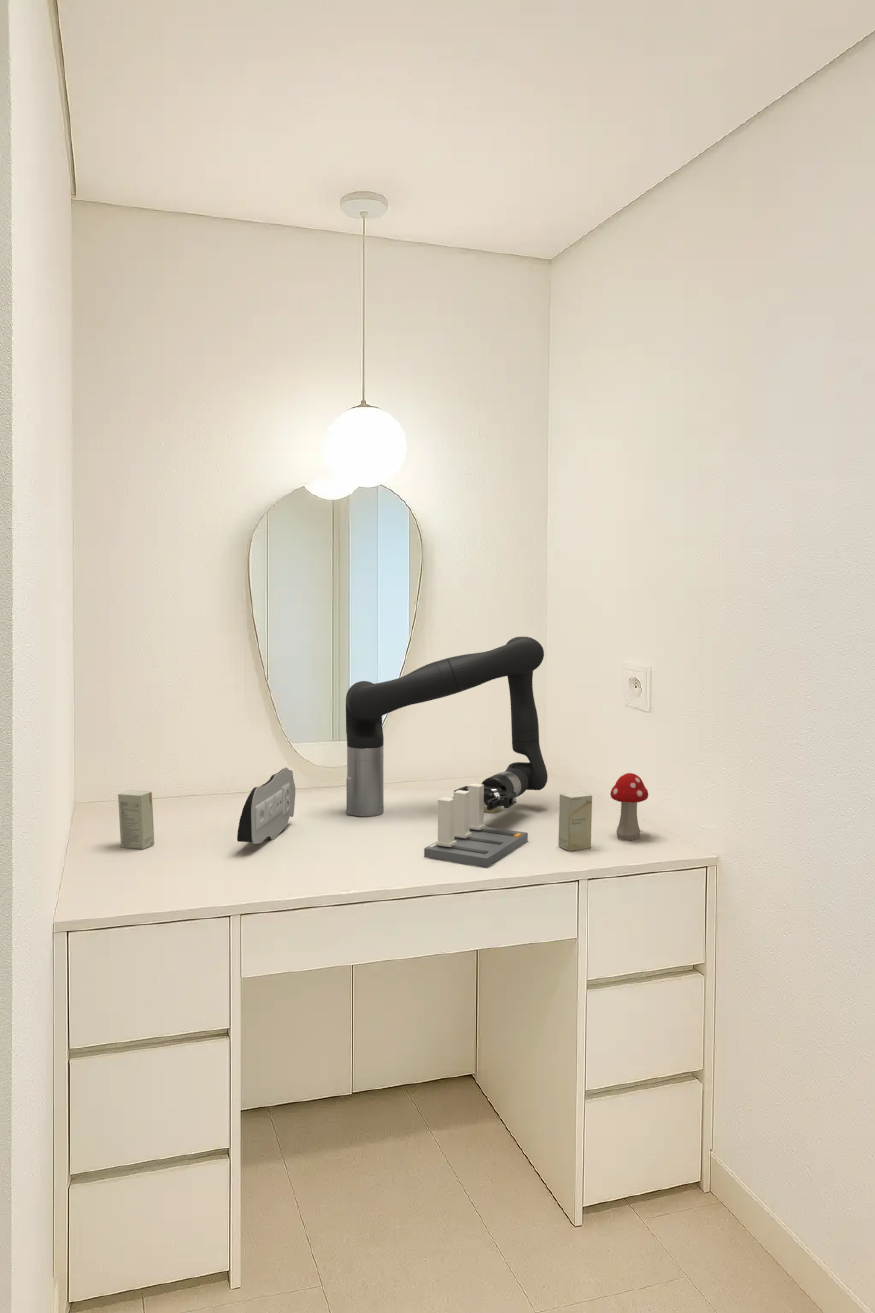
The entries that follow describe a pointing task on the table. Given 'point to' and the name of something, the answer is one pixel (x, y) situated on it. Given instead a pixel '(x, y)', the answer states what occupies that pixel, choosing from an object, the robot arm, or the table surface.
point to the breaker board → (469, 836)
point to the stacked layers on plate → (491, 810)
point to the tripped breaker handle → (476, 806)
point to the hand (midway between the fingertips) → (471, 803)
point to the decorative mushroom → (629, 804)
